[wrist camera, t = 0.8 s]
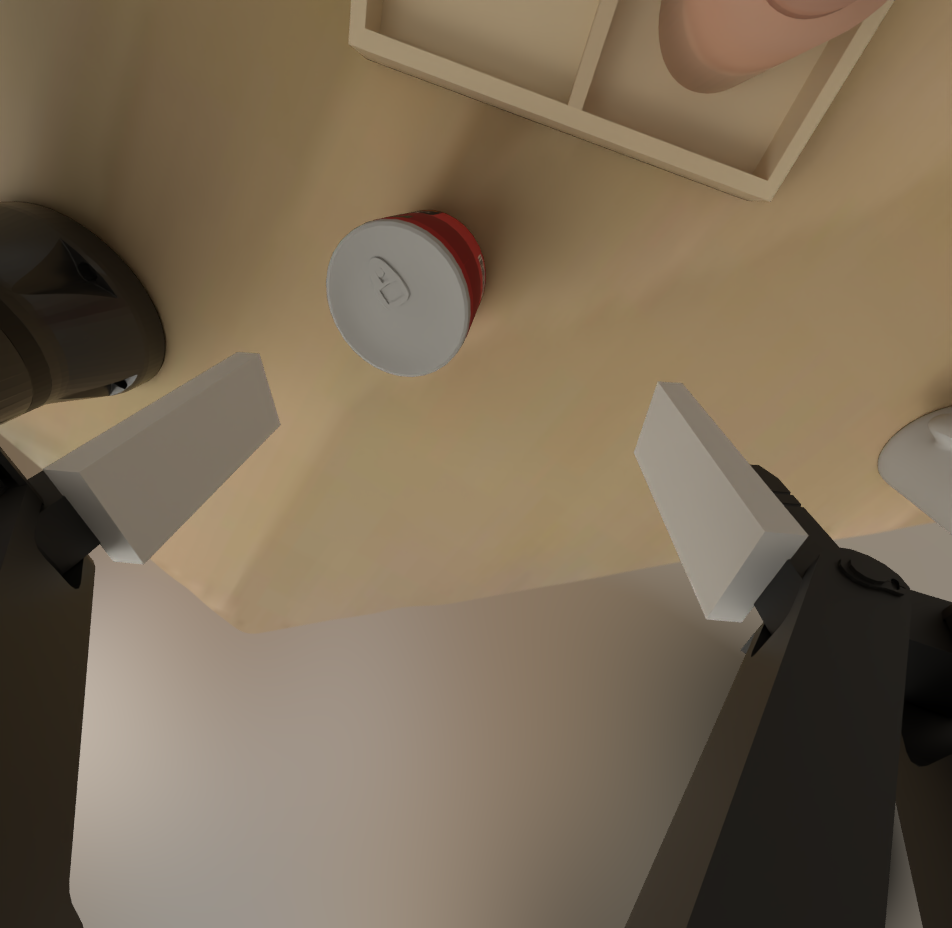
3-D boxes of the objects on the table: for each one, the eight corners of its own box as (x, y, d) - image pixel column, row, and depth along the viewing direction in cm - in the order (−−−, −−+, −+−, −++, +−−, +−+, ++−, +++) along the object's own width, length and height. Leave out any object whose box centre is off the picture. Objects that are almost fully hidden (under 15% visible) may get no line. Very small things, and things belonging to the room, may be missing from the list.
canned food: (431, 181, 26) (382, 177, 17) (509, 276, 29) (501, 315, 20) (365, 266, 30) (295, 300, 21) (440, 344, 33) (407, 402, 24)
